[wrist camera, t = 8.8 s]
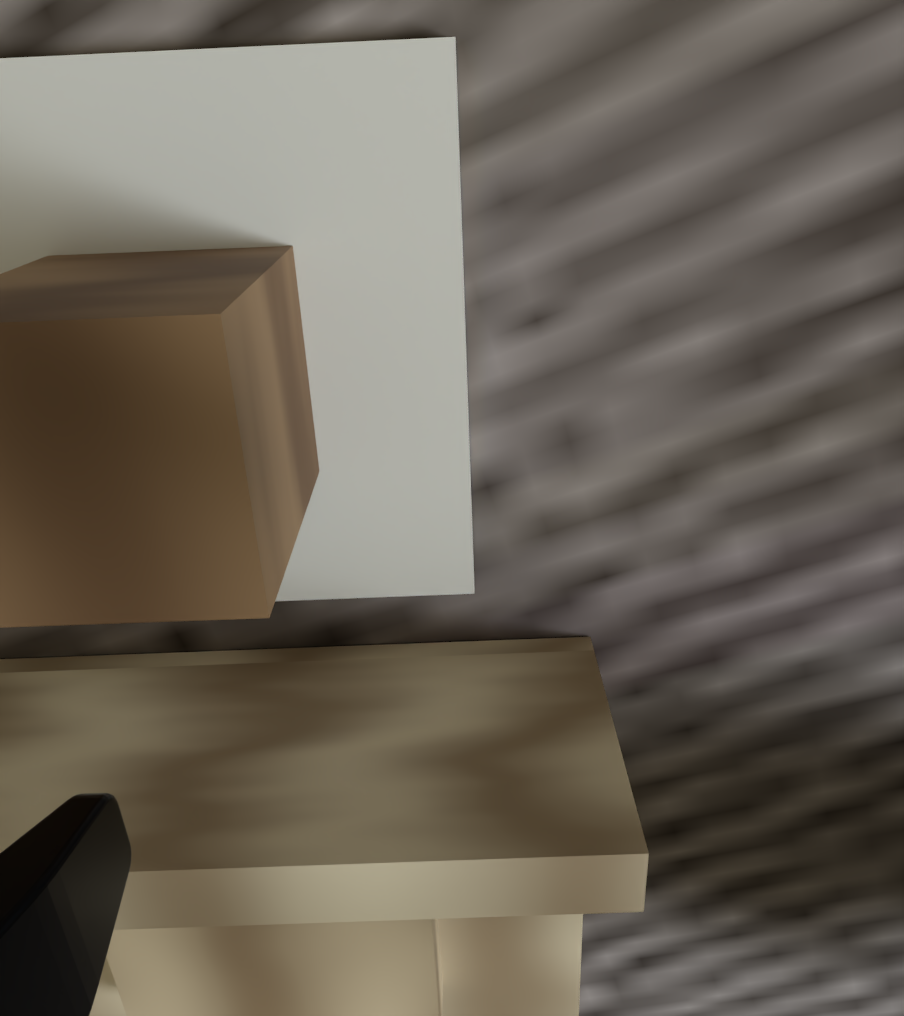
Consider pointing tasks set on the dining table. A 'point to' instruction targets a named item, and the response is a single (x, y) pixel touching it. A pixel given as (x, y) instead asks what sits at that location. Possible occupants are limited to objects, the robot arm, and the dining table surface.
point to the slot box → (339, 821)
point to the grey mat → (317, 253)
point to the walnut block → (151, 436)
